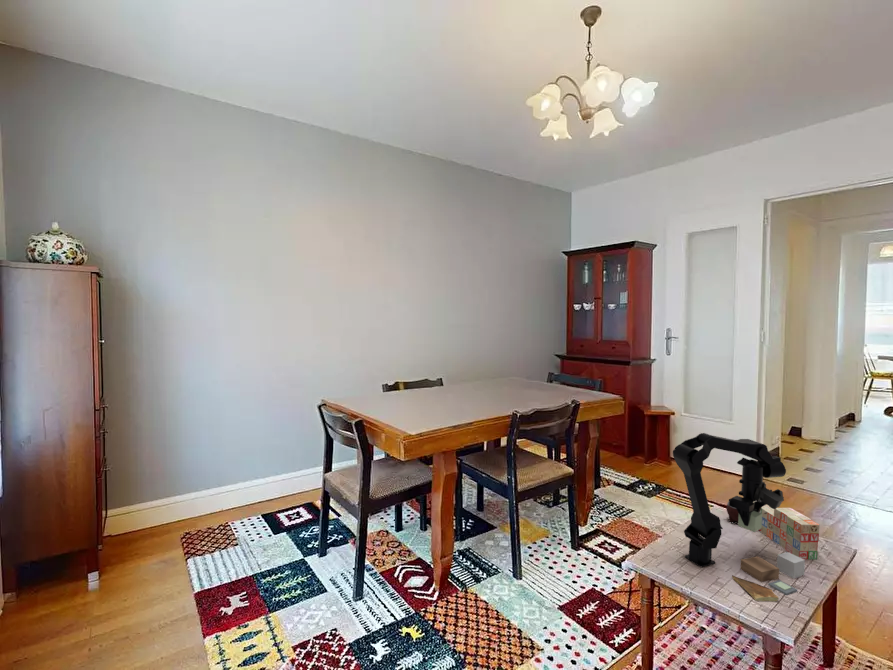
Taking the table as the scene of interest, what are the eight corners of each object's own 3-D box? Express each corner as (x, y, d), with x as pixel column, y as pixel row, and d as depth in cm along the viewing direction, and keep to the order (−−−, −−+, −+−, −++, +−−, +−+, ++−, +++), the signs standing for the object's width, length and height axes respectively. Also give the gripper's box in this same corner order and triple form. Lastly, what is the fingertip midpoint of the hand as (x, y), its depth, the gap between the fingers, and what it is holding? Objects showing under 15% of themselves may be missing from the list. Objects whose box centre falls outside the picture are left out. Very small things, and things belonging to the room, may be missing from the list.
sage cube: (754, 532, 146) (755, 517, 146) (738, 525, 150) (738, 511, 150) (761, 528, 149) (762, 513, 149) (744, 522, 153) (745, 508, 153)
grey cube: (793, 578, 137) (794, 563, 137) (776, 570, 142) (777, 554, 141) (804, 575, 139) (804, 559, 138) (786, 566, 143) (787, 551, 143)
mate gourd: (721, 518, 177) (723, 481, 176) (740, 517, 177) (741, 480, 177) (735, 527, 169) (737, 488, 168) (754, 526, 170) (756, 488, 169)
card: (786, 595, 129) (786, 592, 129) (768, 585, 133) (768, 582, 133) (797, 591, 131) (797, 588, 130) (779, 581, 135) (779, 578, 135)
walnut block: (761, 583, 135) (761, 572, 135) (740, 570, 142) (740, 559, 141) (778, 579, 137) (779, 568, 137) (757, 566, 144) (757, 556, 143)
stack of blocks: (754, 528, 169) (756, 496, 168) (770, 528, 169) (772, 496, 168) (799, 559, 147) (801, 523, 147) (818, 560, 147) (820, 524, 147)
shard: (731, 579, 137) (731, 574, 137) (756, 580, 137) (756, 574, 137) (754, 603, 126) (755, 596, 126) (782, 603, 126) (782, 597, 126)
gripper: (767, 492, 137) (765, 541, 138) (792, 480, 147) (789, 526, 148) (728, 480, 146) (726, 526, 147) (754, 470, 156) (752, 513, 157)
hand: (749, 523), depth 149 cm, fingers closed on sage cube, 5 cm apart
